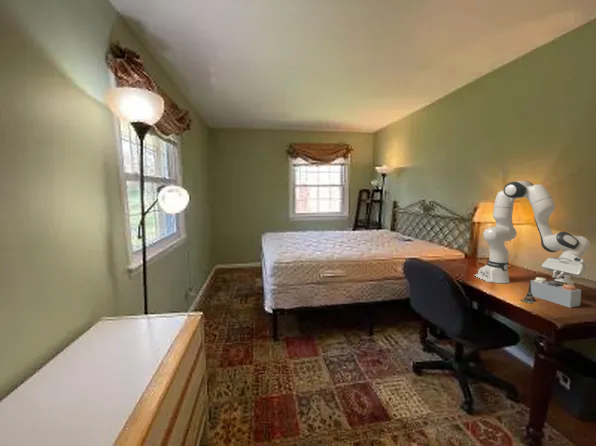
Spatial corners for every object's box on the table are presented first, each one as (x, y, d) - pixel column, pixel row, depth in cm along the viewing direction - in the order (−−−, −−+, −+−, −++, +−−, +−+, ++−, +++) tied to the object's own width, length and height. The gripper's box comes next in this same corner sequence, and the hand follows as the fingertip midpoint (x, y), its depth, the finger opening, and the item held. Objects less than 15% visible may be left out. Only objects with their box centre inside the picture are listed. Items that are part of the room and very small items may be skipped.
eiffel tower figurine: (511, 296, 187) (512, 275, 185) (528, 296, 186) (529, 275, 185) (527, 305, 172) (529, 282, 171) (546, 305, 171) (548, 282, 170)
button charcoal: (546, 293, 179) (547, 281, 178) (552, 292, 181) (552, 280, 180) (555, 296, 175) (556, 283, 174) (561, 295, 176) (562, 282, 175)
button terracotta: (560, 298, 172) (561, 284, 171) (566, 297, 174) (567, 283, 173) (570, 300, 168) (571, 287, 167) (576, 299, 169) (577, 286, 168)
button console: (529, 294, 187) (529, 280, 186) (538, 293, 190) (539, 279, 189) (570, 307, 166) (571, 291, 165) (580, 305, 169) (581, 289, 168)
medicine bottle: (553, 290, 195) (554, 272, 193) (559, 288, 197) (561, 270, 196) (566, 293, 188) (567, 274, 187) (573, 292, 191) (574, 273, 189)
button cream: (533, 290, 186) (533, 277, 186) (538, 289, 188) (539, 276, 187) (541, 292, 182) (542, 279, 181) (547, 291, 183) (547, 279, 182)
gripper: (547, 253, 188) (534, 270, 186) (586, 260, 168) (573, 279, 167) (551, 259, 190) (539, 276, 188) (591, 267, 170) (577, 286, 168)
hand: (555, 278), depth 177 cm, fingers closed
